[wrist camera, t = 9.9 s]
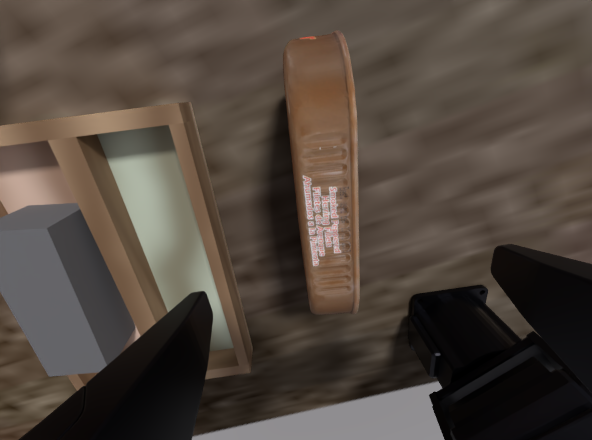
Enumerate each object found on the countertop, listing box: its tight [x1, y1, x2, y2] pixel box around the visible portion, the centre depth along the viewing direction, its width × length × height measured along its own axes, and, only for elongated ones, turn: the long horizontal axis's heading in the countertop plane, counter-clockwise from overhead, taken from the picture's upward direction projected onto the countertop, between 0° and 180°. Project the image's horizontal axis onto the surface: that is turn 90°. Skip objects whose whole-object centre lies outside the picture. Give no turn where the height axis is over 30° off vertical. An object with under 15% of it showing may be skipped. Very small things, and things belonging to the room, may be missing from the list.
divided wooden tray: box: [0, 102, 253, 391], centre depth 20 cm, size 14×21×2 cm
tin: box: [283, 31, 360, 315], centre depth 16 cm, size 15×3×8 cm, turn 6°
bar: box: [0, 203, 136, 376], centre depth 19 cm, size 11×4×4 cm, turn 2°
